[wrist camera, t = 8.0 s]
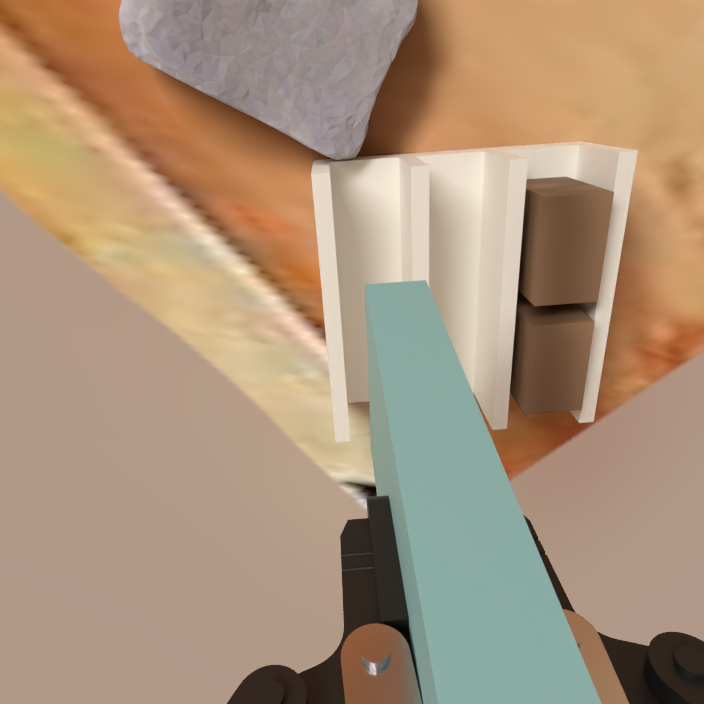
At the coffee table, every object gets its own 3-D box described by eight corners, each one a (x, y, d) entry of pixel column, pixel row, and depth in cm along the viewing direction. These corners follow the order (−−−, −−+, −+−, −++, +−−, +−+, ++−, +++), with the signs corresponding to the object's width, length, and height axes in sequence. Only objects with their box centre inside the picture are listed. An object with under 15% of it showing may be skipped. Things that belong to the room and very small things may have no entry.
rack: (582, 141, 28) (637, 150, 23) (554, 374, 34) (593, 421, 29) (313, 160, 28) (311, 173, 23) (333, 391, 34) (335, 442, 29)
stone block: (196, -157, 24) (123, 65, 25) (182, -244, 19) (93, 36, 21) (426, -14, 27) (346, 175, 29) (461, -59, 22) (362, 170, 24)
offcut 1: (566, 176, 27) (614, 192, 23) (555, 270, 29) (597, 301, 25) (508, 180, 27) (544, 196, 23) (502, 274, 29) (534, 306, 25)
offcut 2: (553, 287, 30) (594, 321, 25) (545, 366, 32) (581, 410, 28) (500, 291, 30) (532, 326, 25) (495, 370, 32) (524, 414, 27)
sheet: (425, 280, 17) (664, 855, 5) (421, 442, 21) (556, 994, 9) (364, 284, 17) (467, 873, 5) (371, 446, 21) (440, 1004, 9)
